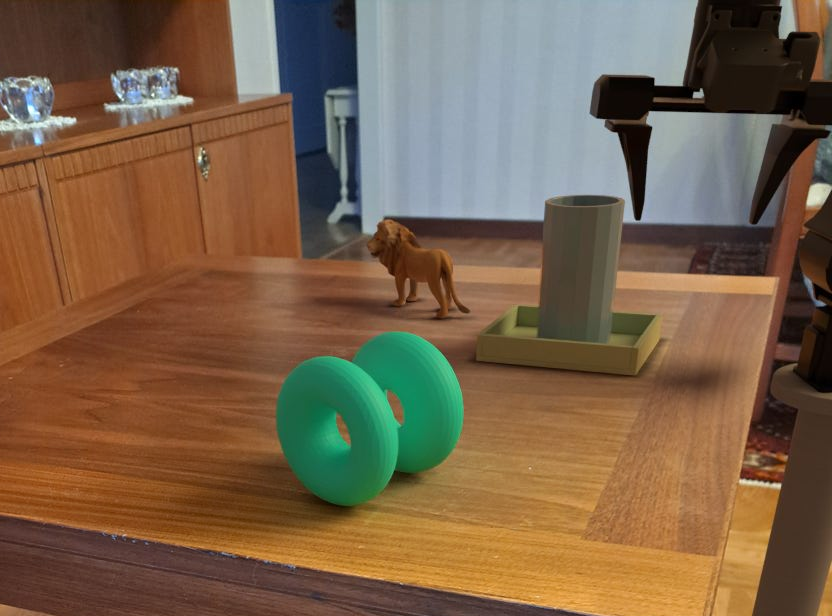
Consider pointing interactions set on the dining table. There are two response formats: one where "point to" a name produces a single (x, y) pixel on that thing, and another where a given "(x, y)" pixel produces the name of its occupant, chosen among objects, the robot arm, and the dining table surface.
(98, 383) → the dining table surface
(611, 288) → the cup
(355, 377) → the donuts
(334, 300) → the dining table surface
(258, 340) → the dining table surface
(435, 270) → the lion figurine
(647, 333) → the tray
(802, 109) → the robot arm
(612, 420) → the dining table surface
